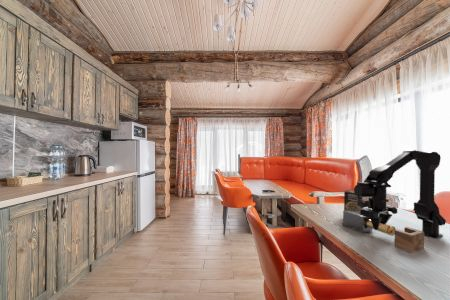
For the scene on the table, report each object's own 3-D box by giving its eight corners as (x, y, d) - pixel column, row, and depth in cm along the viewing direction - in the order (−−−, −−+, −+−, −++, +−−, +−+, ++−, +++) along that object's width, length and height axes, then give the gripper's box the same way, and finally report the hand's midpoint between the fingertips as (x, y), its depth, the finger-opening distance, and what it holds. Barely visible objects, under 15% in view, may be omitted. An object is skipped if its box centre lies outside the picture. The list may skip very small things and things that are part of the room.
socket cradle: (406, 242, 91) (406, 226, 91) (424, 248, 86) (424, 231, 86) (394, 246, 88) (394, 230, 88) (411, 252, 82) (411, 235, 82)
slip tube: (353, 220, 112) (353, 212, 112) (395, 235, 93) (395, 225, 93) (347, 221, 110) (347, 213, 110) (390, 236, 92) (390, 227, 92)
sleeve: (351, 223, 114) (351, 209, 114) (372, 230, 104) (372, 215, 104) (343, 225, 111) (343, 210, 111) (363, 233, 101) (363, 217, 101)
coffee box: (343, 218, 121) (343, 191, 121) (346, 215, 126) (346, 189, 126) (361, 222, 115) (362, 193, 115) (364, 219, 120) (364, 191, 120)
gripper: (373, 191, 109) (373, 220, 109) (349, 194, 102) (349, 226, 102) (398, 195, 98) (397, 228, 99) (372, 200, 91) (372, 235, 92)
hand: (378, 229), depth 98 cm, fingers closed on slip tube, 4 cm apart
